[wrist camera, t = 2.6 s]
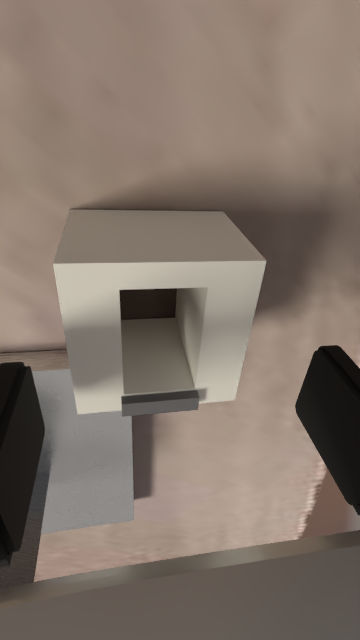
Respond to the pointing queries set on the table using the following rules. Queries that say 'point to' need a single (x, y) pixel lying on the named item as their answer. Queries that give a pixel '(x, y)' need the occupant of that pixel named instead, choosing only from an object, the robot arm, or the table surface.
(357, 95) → the table surface
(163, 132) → the table surface
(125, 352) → the cream slotted block
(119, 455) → the base
